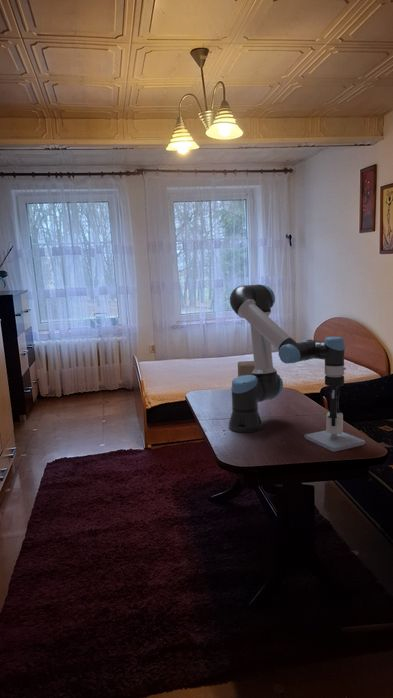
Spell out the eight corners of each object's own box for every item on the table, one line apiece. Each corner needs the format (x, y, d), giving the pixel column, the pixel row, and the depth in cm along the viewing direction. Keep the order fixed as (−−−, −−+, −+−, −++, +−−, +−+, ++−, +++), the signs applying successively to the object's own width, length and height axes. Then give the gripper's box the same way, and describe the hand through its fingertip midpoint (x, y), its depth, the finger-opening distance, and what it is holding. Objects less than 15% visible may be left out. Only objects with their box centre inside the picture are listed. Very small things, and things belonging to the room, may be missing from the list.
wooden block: (255, 393, 271) (254, 360, 268) (257, 398, 261) (257, 363, 258) (238, 394, 271) (237, 361, 268) (240, 399, 261) (239, 364, 258)
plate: (333, 451, 177) (333, 434, 176) (304, 438, 193) (304, 422, 192) (365, 444, 184) (365, 427, 183) (334, 431, 200) (334, 416, 199)
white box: (341, 434, 184) (341, 415, 183) (326, 432, 186) (326, 414, 185) (342, 429, 190) (342, 411, 188) (327, 428, 192) (327, 410, 191)
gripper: (342, 380, 174) (342, 439, 178) (345, 371, 192) (345, 424, 195) (322, 379, 177) (322, 437, 181) (327, 370, 195) (327, 423, 198)
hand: (334, 430), depth 188 cm, fingers closed on white box, 6 cm apart
